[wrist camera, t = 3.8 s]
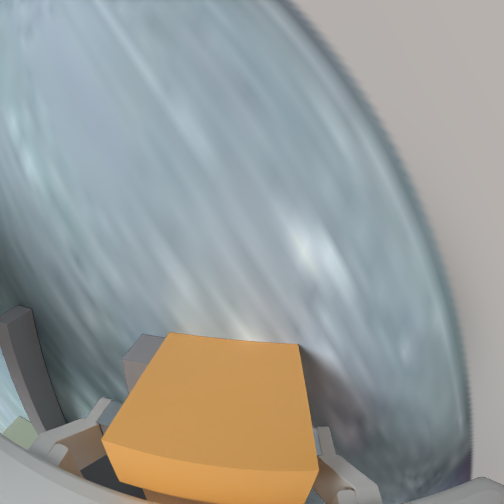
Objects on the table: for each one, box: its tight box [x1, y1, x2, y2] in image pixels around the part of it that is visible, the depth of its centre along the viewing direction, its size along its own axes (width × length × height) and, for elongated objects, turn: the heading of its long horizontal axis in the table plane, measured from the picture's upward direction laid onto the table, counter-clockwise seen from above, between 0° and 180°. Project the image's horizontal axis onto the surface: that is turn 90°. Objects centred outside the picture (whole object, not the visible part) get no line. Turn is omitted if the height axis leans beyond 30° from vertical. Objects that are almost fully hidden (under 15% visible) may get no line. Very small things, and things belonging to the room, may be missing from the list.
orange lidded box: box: [101, 332, 319, 504], centre depth 9 cm, size 8×5×6 cm, turn 176°
